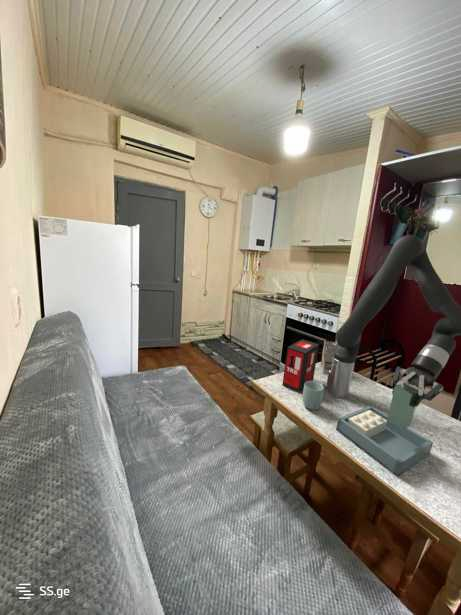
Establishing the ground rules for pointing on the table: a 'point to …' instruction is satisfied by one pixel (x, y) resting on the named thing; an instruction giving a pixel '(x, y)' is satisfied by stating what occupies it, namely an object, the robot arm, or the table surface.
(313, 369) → the cleaning product box
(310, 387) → the cup
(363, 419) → the egg carton
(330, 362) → the coffee box
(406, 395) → the tea tin
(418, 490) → the table surface
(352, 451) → the table surface
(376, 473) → the table surface
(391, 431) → the tray
